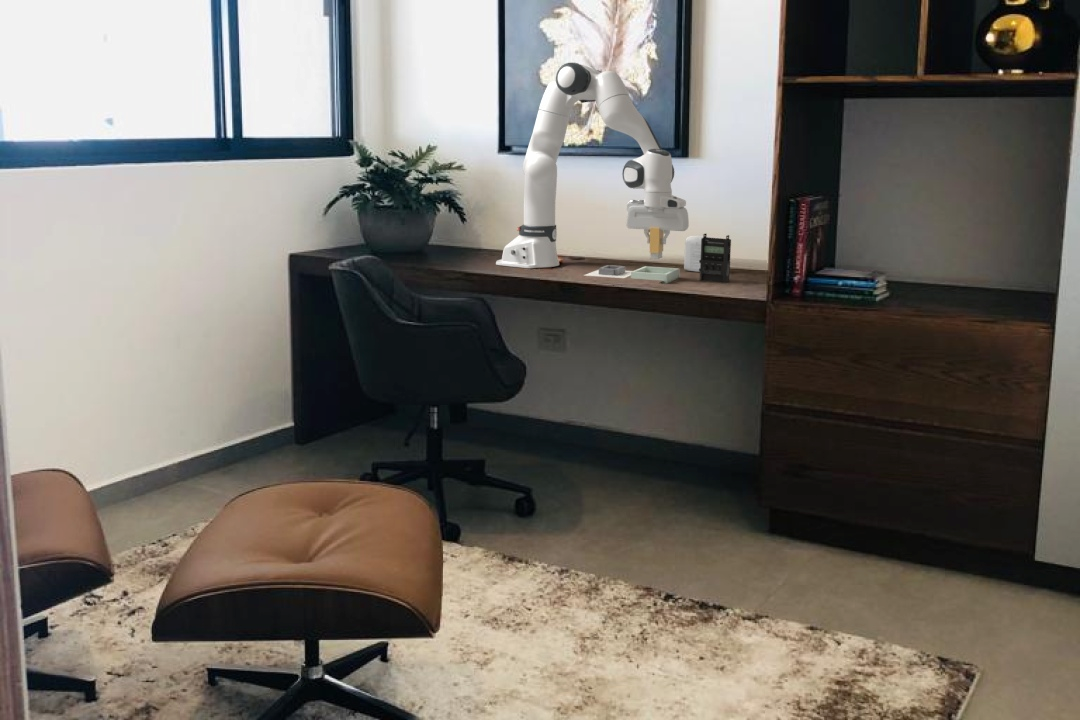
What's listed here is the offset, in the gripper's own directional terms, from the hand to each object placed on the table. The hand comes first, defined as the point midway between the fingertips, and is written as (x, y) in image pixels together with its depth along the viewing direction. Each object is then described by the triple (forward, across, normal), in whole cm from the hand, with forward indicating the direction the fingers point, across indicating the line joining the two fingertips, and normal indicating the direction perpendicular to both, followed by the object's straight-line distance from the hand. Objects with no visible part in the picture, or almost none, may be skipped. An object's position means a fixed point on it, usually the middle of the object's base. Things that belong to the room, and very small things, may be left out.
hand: (656, 243), depth 358 cm
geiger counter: (+12, +18, +5) cm, 22 cm away
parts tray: (+12, 0, 0) cm, 12 cm away
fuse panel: (+12, -15, 0) cm, 19 cm away
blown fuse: (+5, 0, 0) cm, 5 cm away
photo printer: (+12, +8, +23) cm, 27 cm away
